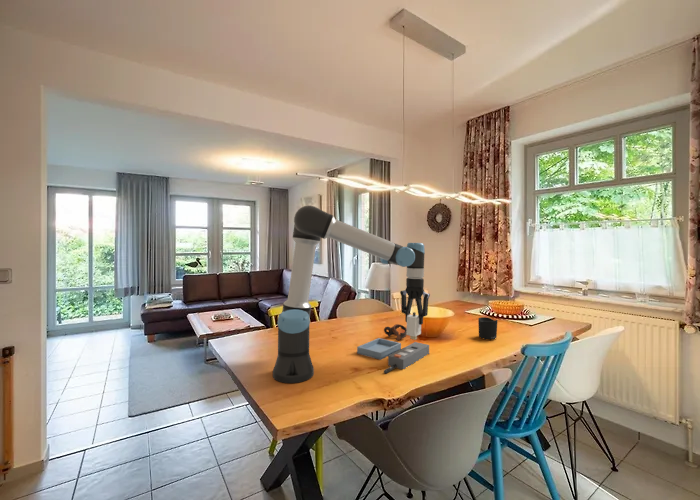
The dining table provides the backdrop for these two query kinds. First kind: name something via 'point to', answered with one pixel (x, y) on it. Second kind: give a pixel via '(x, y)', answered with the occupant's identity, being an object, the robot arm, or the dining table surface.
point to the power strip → (407, 356)
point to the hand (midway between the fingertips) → (413, 330)
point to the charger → (412, 326)
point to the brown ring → (395, 331)
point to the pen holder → (487, 328)
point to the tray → (378, 348)
